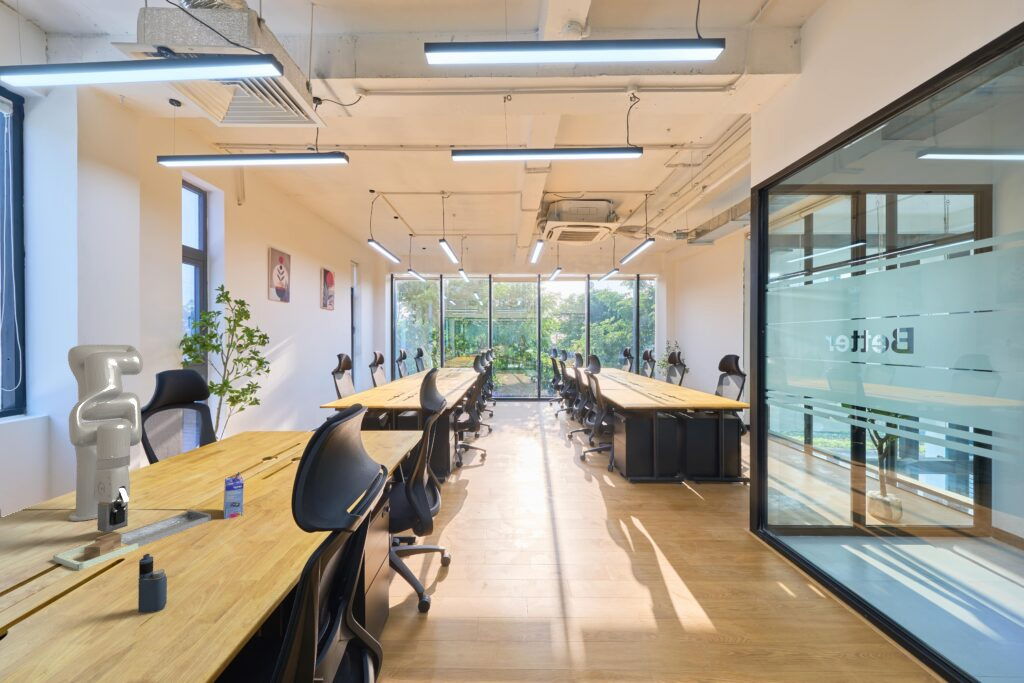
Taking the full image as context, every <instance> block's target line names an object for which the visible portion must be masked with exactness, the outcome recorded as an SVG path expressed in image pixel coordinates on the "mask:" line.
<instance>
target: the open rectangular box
mask: <svg viewBox="0 0 1024 683" xmlns="http://www.w3.org/2000/svg"><path fill="white" fill-rule="evenodd" d="M211 521H212V514H211V513H208V512H203V511H198V510H193V509H188V510H186V512H183V513H181V514H178V515H174V516H172V517H169V518H168V517H167V518H165V519H162V520H159V521H156V522H154V523H149V524H147V525H145V526H141V527H138V528H136V529H133V530H128V531H125V532H123V533H120V534H121V544H124V545H127V546H130V545H132V544H135V543H138V548H140V547H143V546H146V545H149V544H151V543H153V542H156V541H159V540H162V539H164V538H168V537H170V536H172V535H176V534H179V533H181V532H183V531H186V530H189V529H191V528H194V527H196V526H200V525H202V524H205V523H209V522H211Z"/></svg>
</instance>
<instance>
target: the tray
mask: <svg viewBox="0 0 1024 683" xmlns="http://www.w3.org/2000/svg"><path fill="white" fill-rule="evenodd" d="M93 543H95V541H93V542H91V543H88V544H85V545H81V546H78V547H75V548H72V549H70V550H69V549H68V550H65V551H63V552H60V553H57V554H54V555H52V558H53V559H52V561H53V562H54V563H56V564H57V563H58V564H60V565H63V566H65V567H69V568H71V569H74V570H75V571H76V570H77V571H81V570H84V569H87V568H90V567H93V566H95V565H97V564H101V563H103V562H106V561H108V560H111V559H114V558H116V557H119V556H122V555H124V554H127V553H130V552H133V551H136V550H138V548H139V547H138V543H135V544H132V545H127V546H124V547H122V548H118V549H116V550H114V551H113V552H110V553H107V554H104V555H102V556H99V557H96V558H93V559H91V560H84V561H83V562H81V561H78V560H75V559H72V558H69V557H72V556H75V555H79V554H81V553H83V552H84V547H87V546H89V545H91V544H93Z"/></svg>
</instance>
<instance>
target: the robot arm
mask: <svg viewBox="0 0 1024 683" xmlns="http://www.w3.org/2000/svg"><path fill="white" fill-rule="evenodd" d="M67 361H68V366H69V369H70V371H71V373H72V374H73V376H74V378H75V380H76V383H77V390H78V391H77V393H78V396H77V398H78V399H77V400H78V402H76V403H75V405H74V406H73V407H72V409H71V410H70V412H69V416H68V433H69V435H68V436H69V441H70V443H71V445H73V446H74V451H75V456H76V459H75V460H76V461H75V462H76V481H75V482H76V485H75V489H76V490H75V494H76V495H75V511H74V512H72V513H70V514H69V516H68V520H69V521H72V522H80V521H81V522H82V521H89V520H94V519H98V504H99V502H103V503H108V504H110V503H111V504H112V511H113V512H111V525H112V526H114V525H117V524H120V523H123V522H125V509H126V504H127V503H129V500H130V498H129V497H130V494H131V491H130V490H131V489H130V488H131V485H130V483H131V482H130V470H129V467H130V466H131V447H134V446H137V445H139V443H141V442H142V436H143V426H142V410H141V402H140V398H139V396H138V395H137V394H136V393H134V392H130V391H129V392H127V391H125V392H124V391H123V383H122V376H136V375H139V374H140V373H141V372H142V371H143V368H144V363H143V362H144V361H143V358H142V356H141V353H140V352H139V351H138V350H137V348H136V347H135V346H133V345H131V344H79V345H76V346H73V347H71V348H69V350H68V352H67ZM84 421H86V422H84ZM118 498H120V499H121V500H117V501H116V499H118ZM118 502H120V503H119V504H118V505H117V506H116V503H118Z"/></svg>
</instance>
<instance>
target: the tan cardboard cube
mask: <svg viewBox="0 0 1024 683" xmlns="http://www.w3.org/2000/svg"><path fill="white" fill-rule="evenodd" d="M121 534H122V533H118V532H114V531H112V532H108V533H106V534H104V535H101V536H98V537H95V540H94V542H97V541H102V540H114V550H115V549H117V548H118V549H119V548H120V547H122V543H121Z"/></svg>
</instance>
